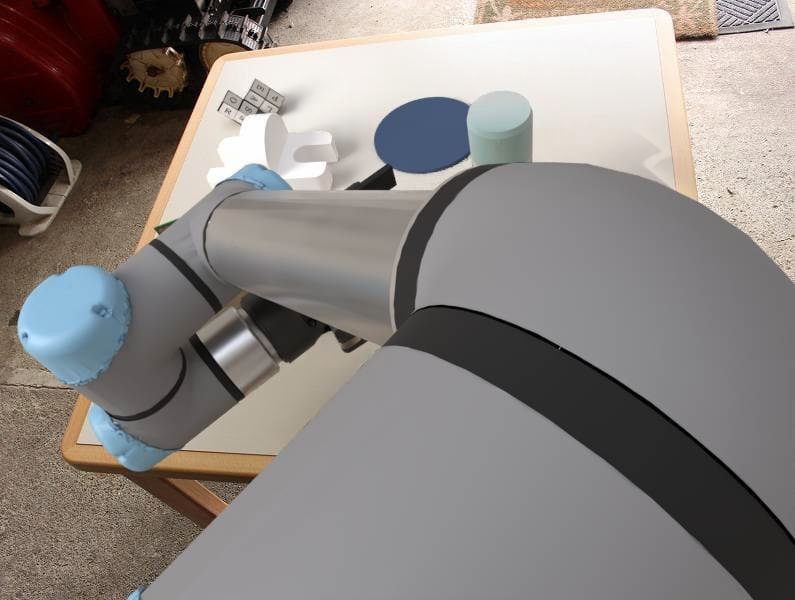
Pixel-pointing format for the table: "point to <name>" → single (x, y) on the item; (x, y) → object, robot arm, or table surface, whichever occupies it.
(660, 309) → the robot arm
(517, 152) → the pale blue cylinder
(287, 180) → the u-slot mount
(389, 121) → the slate-blue mat
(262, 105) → the building blocks
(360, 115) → the table surface
